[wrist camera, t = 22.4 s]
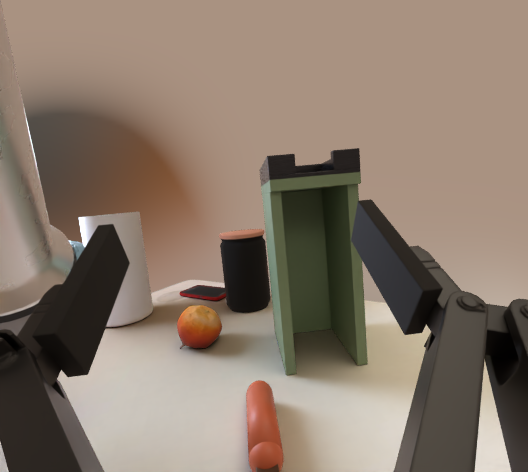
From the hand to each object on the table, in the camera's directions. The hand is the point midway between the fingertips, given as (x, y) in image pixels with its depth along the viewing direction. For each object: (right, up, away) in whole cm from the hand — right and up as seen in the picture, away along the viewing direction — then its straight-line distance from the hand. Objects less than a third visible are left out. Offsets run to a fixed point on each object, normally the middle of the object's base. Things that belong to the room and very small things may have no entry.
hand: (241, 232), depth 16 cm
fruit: (-10, -20, +38) cm, 44 cm away
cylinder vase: (-32, -20, +55) cm, 67 cm away
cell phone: (-15, -17, +67) cm, 71 cm away
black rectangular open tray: (+7, +9, +30) cm, 32 cm away
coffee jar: (-2, -17, +55) cm, 58 cm away
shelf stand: (+10, -19, +33) cm, 39 cm away
